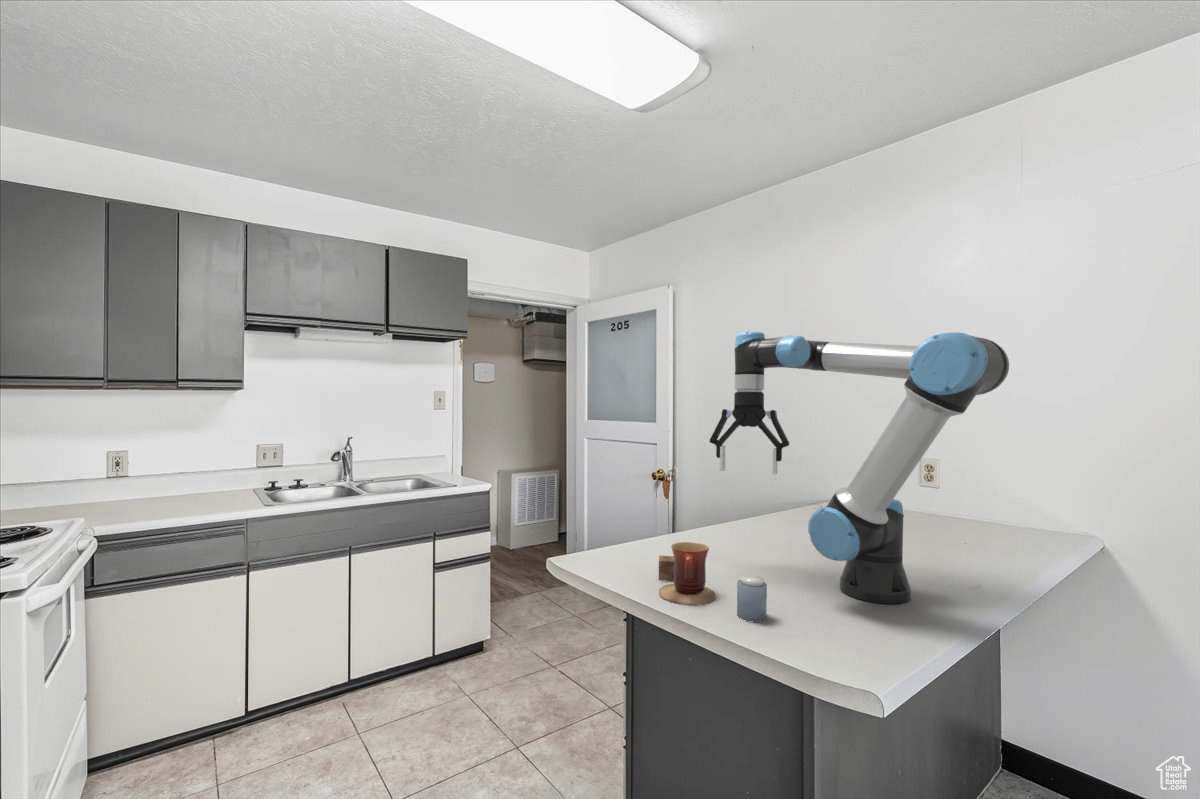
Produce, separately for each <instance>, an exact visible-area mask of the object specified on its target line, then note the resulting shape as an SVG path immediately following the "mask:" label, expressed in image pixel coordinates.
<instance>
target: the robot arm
mask: <svg viewBox="0 0 1200 799" xmlns="http://www.w3.org/2000/svg"><path fill="white" fill-rule="evenodd" d="M734 343H735V344H734V345H735V346H734V369H735V370H734V387H733V388H734V390H735V392H734V395H733V396H734V404H733V405H734V406H733V410H730V409H724V408H723V409H722V410H721V414H720V415H721V417H720V419H719V421H718V422H717V425H716V427H715V429H714V431H713V433H712V434H711V437H710V438H709V443H711V444H712V445H714V446H716V447H715V449H716V451H715V453H716V458H717V459H719V472H723V471H726V445H723V444H725V442H726V441H727V440H728V439H729V437H731V435H733V433H734V432H735V431H736V430H737V429H738V428H739V427H744V428H745V427H750V428H755V427H758V428H759V429H760V430H761V431H762V433H763V434H764V435H765V436H766V437H767V439H768V440H769V441H770V442H771V443H772V444H773V446H774V447H775V448H772V475H774V476H775V475H777V474H778V462H781V461H782V460H783V459H782V458H783V457H782V456H783V449H784V448H787V447H789V446H790V441H789V439H788V437H787V435H786V434H785V433H786V432H784V429H783V428H782V426H781V423H780V422H779V419H778V414H777V413H778V412H777V411H776V410H775V409H772V410H767V411H766V410H765V393H764V392H763V391H764V389H765V369H769V368H786V369H799V370H800V369H801V370H809V371H815V372H817V371H818V372H819V371H820V372H821V371H822V372H833V373H834V372H835V373H843V374H844V373H845V374H855V375H866V376H872V377H873V376H874V377H884V378H895V379H906V380H905V382H904V384H903V387H904V391H905V393H906V395H905V398H904V399H903V401H902V402H901V404H900V406H899V407H898V408H897V409H896V411H895V413H894V414H893V416H892V417H891V419H890V421H889V423H888V424H887V426H886V427H885V428H884V430H883V432H882V434H881V435H880V436H879V438H878V440H877V441H876V442H875V445H873V448H872V449H871V450H870V452H869V453H868V455H867V457H865V460H864V461H863V463H862V464H861V466H860V468H859V469H858V471H857V472H856V473H855V475H854V477H853V478H852V480H851V482H850V483H849V485H848V486H847V487H842V488H841V487H840V488H838V489H837V490H836V491H835V492H834V494H833V496H832V497H831V499H829V502H828V503H827V505H826V506H822V507H823V508H822V507H819V508H818V509H816V510H815V511H814V512H813V513H812V514H811V515H810V517H809V519H808V526H807V528H808V529H807V531H808V532H807V533H808V534H809V537H810V538H809V539H810V542H811V543H812V545H813V546H814V548H815V549H816V551H818V552H819V553H820V554H821V555H822V556H823V557H824V558H826V559H828V560H830V561H833V562H834V561H835V562H843V561H845V564H844V568H843V570H842V573H841V576H840V578H839V590H840V591H841V592H842V593H844V594H846V595H847V596H850V597H852V598H854V599H858V600H863V601H866V602H870V603H878V604H887V605H893V604H894V605H898V604H897V603H899V604H905V603H908V602H909V601H911V597H912V596H911V595H912V593H911V592H912V590H911V589H912V588H911V586H910V583H909V580H908V577H907V576H908V575H907V573H906V571H905V568H904V565H903V551H904V550H903V548H904V542H903V541H904V518H905V514H904V510H903V509H904V508H903V507H904V506H903V503H902V502H901V501H900V500H898V499H895V498H896V496H897V494H898V493H899V491H900V490H901V488H903V486H904V485H905V483H906V481H907V480H908V478H909V477H910V475H911V474H912V473H913V471H914V470H915V468H916V467H917V466H918V464H919V462H920V461H921V459H922V458H923V457H924V456H925V453H926V452H927V451H928V450H929V448H930V447H931V445H932V444H933V443H934V441H935V439H936V438H937V436H938V435H939V434H940V432H941V431H942V429H943V428H944V426H945V425H946V424H947V422H948V421H949V419H950V418H951V417H956V416H960V415H963V414H964V413H965V412H966V410H967V409H968V407H969V406H970V405H971V404H972V402H973V400H974V399H975V398H976V397H977V396H980V395H985V394H987V393H990V392H992V391H994V390H996V389H997V388H999V387H1000V386H1001V384H1003V383H1004V382H1005V380H1006V379H1007V377H1008V374H1009V371H1010V361H1009V360H1010V359H1009V358H1008V355H1007V353H1006V350H1004V348H1003V347H1002V346H1000V344H998V343H996V342H995V341H993V340H990V339H988V338H984V337H978V336H974V335H970V334H967V333H964V332H953V331H952V332H943V333H939V334H935V335H932V336H930V337H927V338H926V339H925V340H924V341H922V342H921V343H920V344H919V345H901V344H884V343H883V344H881V343H880V344H879V343H861V342H860V343H857V342H841V341H840V342H839V341H838V342H837V341H821V340H820V341H818V340H808V339H806V338H805V337H804V336H802V335H786V336H780V337H772V338H766V336H765V333H764V332H762V331H741V332H739V333H737V334H736V336H735V342H734ZM731 416H733V418H734V419H735V420H734V421H733V422H732V424H731V425H730V426H729V428H728V429H727V430H725V432H724V433H723V434H722V435H721V432H722V430H723V429H724V427H725V425H726V424H727V420H728V419H729V418H730V417H731ZM766 416H767V418H768V419H769V420H771V424H773V427H774V429H775V432H776V433H777V435H778V437H779V439H780V441H781V442H780V441H779V440H778V438H777V437H776V436H775V435H774V434H773V432H772V431H771V430H770V428H769V427H768V426H767V425H766V423H765V422H764V421H763V419H765V417H766ZM720 435H721V436H720ZM719 437H720V438H719ZM907 601H908V602H907Z"/></svg>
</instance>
